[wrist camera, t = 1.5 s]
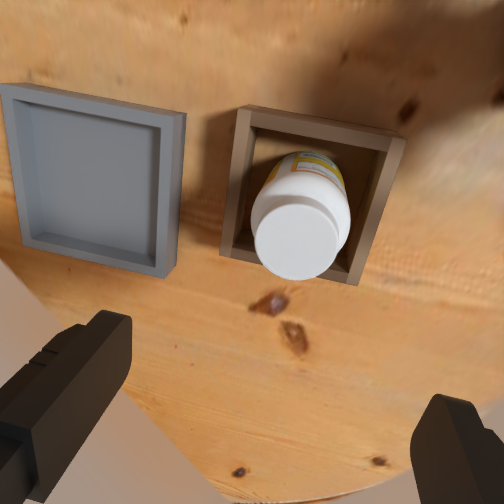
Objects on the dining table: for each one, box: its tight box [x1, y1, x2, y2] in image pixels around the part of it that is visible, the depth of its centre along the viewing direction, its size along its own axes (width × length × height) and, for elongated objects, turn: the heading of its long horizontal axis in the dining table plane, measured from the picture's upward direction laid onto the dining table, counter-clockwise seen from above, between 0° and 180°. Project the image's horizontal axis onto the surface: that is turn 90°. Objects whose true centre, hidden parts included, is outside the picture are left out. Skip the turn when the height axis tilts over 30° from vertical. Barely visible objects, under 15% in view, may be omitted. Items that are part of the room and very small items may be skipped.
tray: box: [0, 83, 187, 279], centre depth 27 cm, size 12×12×2 cm
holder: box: [219, 104, 407, 286], centre depth 24 cm, size 10×10×4 cm
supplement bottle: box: [251, 151, 351, 280], centre depth 21 cm, size 5×5×10 cm
